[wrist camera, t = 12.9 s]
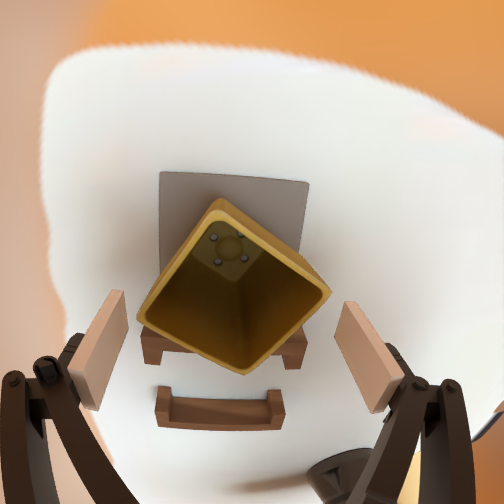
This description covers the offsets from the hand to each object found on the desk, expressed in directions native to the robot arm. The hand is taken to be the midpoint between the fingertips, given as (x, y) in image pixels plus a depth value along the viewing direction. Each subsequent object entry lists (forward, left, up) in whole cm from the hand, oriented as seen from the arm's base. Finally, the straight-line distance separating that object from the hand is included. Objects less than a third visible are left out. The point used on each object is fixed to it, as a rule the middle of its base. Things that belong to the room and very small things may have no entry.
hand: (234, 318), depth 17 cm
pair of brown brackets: (-15, 0, -10) cm, 18 cm away
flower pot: (0, 0, -10) cm, 10 cm away
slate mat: (0, 0, -10) cm, 10 cm away
